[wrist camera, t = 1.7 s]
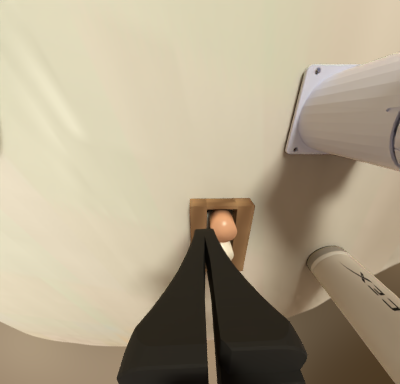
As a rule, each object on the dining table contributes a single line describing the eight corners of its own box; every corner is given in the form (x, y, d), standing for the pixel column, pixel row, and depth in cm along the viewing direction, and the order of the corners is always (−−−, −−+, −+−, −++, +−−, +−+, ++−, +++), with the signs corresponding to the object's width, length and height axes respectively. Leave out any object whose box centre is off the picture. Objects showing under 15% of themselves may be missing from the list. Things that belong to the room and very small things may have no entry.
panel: (249, 198, 20) (254, 206, 18) (239, 260, 25) (242, 270, 23) (190, 198, 20) (189, 206, 18) (192, 260, 25) (191, 271, 23)
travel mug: (324, 274, 27) (569, 572, 9) (298, 264, 26) (529, 592, 8) (353, 253, 25) (759, 598, 7) (326, 240, 23) (750, 633, 5)
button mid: (230, 230, 21) (234, 247, 18) (228, 246, 22) (232, 264, 19) (208, 230, 21) (210, 247, 18) (208, 246, 22) (209, 264, 19)
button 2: (232, 207, 19) (238, 222, 16) (230, 226, 20) (235, 242, 18) (209, 207, 19) (211, 222, 16) (208, 226, 20) (210, 242, 18)
